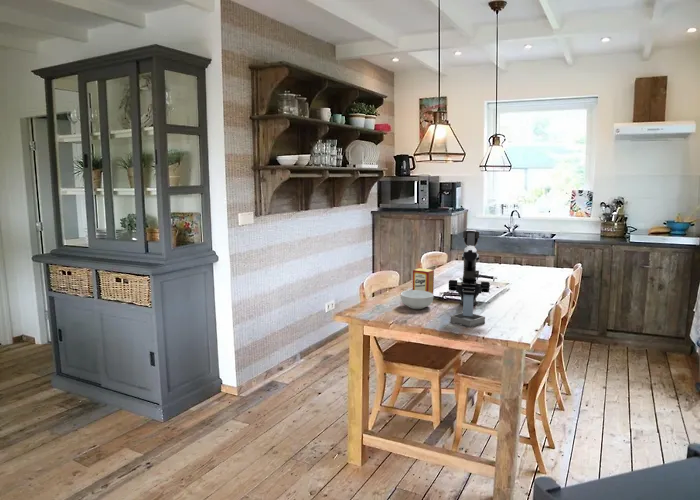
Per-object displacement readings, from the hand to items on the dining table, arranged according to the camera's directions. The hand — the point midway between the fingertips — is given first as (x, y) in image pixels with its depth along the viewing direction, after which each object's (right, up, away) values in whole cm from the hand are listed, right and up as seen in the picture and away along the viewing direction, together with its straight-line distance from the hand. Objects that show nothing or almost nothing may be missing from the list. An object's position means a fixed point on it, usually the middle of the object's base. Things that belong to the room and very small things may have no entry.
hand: (468, 301), depth 243 cm
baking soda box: (-14, -3, +49) cm, 51 cm away
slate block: (0, -6, +2) cm, 7 cm away
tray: (0, -10, +3) cm, 10 cm away
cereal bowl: (-20, -6, +30) cm, 37 cm away
